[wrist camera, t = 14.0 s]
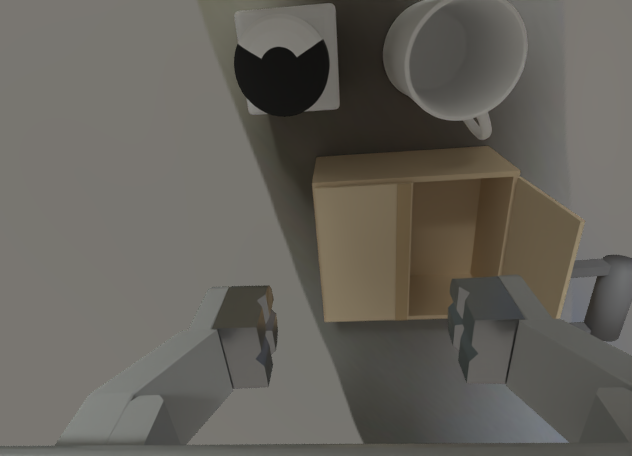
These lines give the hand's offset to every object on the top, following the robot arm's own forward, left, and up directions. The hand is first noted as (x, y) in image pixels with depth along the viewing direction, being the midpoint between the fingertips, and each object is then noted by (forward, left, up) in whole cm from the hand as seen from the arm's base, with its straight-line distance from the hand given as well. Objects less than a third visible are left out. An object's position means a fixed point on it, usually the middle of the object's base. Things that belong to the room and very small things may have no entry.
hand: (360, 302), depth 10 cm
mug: (-2, +9, -33) cm, 34 cm away
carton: (+14, +6, -33) cm, 36 cm away
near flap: (+14, +15, -20) cm, 28 cm away
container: (-4, -4, -33) cm, 34 cm away
